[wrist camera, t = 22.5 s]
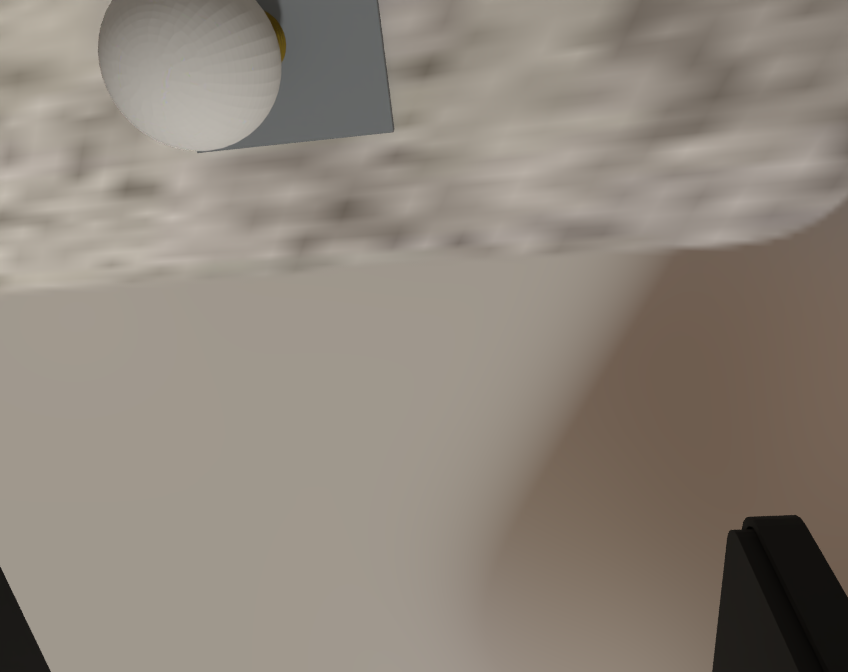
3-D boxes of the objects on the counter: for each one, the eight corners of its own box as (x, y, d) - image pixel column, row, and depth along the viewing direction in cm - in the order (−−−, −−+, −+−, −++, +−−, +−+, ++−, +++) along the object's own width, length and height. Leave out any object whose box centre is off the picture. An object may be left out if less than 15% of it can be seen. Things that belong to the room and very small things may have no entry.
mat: (365, -100, 30) (363, -101, 29) (394, 129, 34) (393, 132, 33) (147, -71, 30) (141, -72, 30) (201, 149, 34) (197, 153, 34)
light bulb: (327, -36, 30) (236, -31, 21) (332, 115, 32) (253, 176, 24) (187, -41, 30) (41, -37, 22) (203, 108, 33) (79, 164, 24)
